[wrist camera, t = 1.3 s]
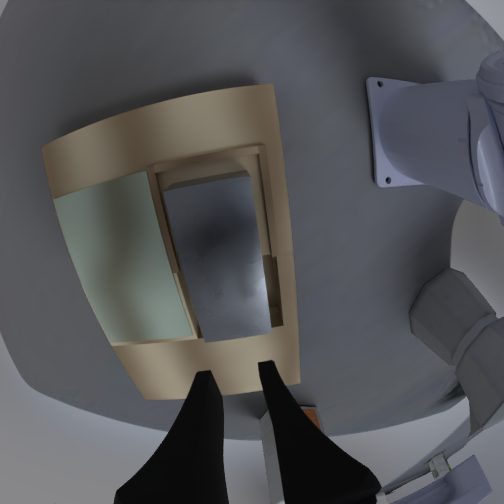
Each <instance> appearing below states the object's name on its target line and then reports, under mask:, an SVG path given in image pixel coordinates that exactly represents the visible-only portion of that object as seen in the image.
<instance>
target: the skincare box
mask: <svg viewBox="0 0 504 504" xmlns="http://www.w3.org/2000/svg"><path fill="white" fill-rule="evenodd" d="M300 407H301V409H302V410H303V411H304V413H305V414H306V415H307V416H308V417H309V418H310V420H311V421H312V422H313V423H314V424H315V425H316V426H317V427H318V428H319V429H320V430H321V431H322V432H323V433H324V434H325V432H324V428H323V425H322V422H321V418H320V415H319V412H318V408H317V407H304V406H300ZM260 429H261V437H262V444H263V451H264V458H265V466H266V473H267V480H268V488H269V495H270V503H271V504H285V503H284V496H283V489H282V482H281V476H280V469H279V463H278V456H277V450H276V444H275V437H274V431H273V425H272V422H271V419H270V415H269V412H268V411H267V412H266V413H265V414H264V415H263V417H262V418H261V419H260Z"/></svg>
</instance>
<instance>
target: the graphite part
mask: <svg viewBox="0 0 504 504" xmlns="http://www.w3.org/2000/svg"><path fill="white" fill-rule="evenodd" d="M163 194H164V198H165V203H166V207H167V211H168V216H169V220H170V224H171V228H172V232H173V236H174V240H175V244H176V248H177V252H178V255H179V259H180V263H181V266H182V270H183V273H184V277H185V280H186V284H187V287H188V291H189V294H190V297H191V301H192V304H193V307H194V310H195V314H196V317H197V320H198V323H199V326H200V329H201V332H202V335H203V338H204V341H205V343H209V342H217V341H224V340H231V339H238V338H245V337H251V336H257V335H263V334H269V333H272V329H271V321H270V313H269V306H268V298H267V291H266V283H265V276H264V269H263V261H262V254H261V247H260V239H259V232H258V225H257V218H256V211H255V204H254V197H253V190H252V183H251V176H250V174H249V173H248V171H247V170H243V171H237V172H230V173H224V174H219V175H213V176H207V177H202V178H197V179H192V180H187V181H182V182H177V183H172V184H171V185H170V186H169V187H168V188H167V189H165V190H164V191H163Z"/></svg>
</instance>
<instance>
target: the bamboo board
mask: <svg viewBox="0 0 504 504" xmlns="http://www.w3.org/2000/svg"><path fill="white" fill-rule="evenodd" d="M41 148H42V154H43V159H44V165H45V170H46V175H47V179H48V184H49V188H50V192H51V196H52V200H53V204H54V207H55V211H56V214H57V218H58V221H59V224H60V228H61V231H62V234H63V237H64V240H65V243H66V246H67V249H68V251H69V254H70V257H71V259H72V262H73V265H74V267H75V270H76V272H77V275H78V277H79V280H80V282H81V284H82V287H83V289H84V291H85V294H86V296H87V298H88V300H89V302H90V304H91V307H92V309H93V311H94V313H95V315H96V317H97V319H98V321H99V323H100V325H101V327H102V329H103V331H104V333H105V334H106V336H107V338H108V340H109V342H110V344H111V345H112V347H113V349H114V351H115V352H116V354H117V356H118V358H119V359H120V361H121V363H122V364H123V366H124V368H125V369H126V371H127V372H128V374H129V376H130V377H131V379H132V380H133V382H134V383H135V385H136V386H137V388H138V389H139V391H140V392H141V394H142V395H143V397H144V398H145V400H161V399H186V397H187V395H188V392H189V390H190V388H191V385H192V382H193V380H194V377H195V374H196V373H197V371H205V370H211V372H212V374H213V376H214V379H215V381H216V383H217V385H218V388H219V390H220V392H221V394H222V396H223V395H232V394H240V393H247V392H254V391H261V390H263V389H262V385H261V381H260V377H259V370H258V362H263V361H268V360H273V361H275V365H276V367H277V370H278V372H279V374H280V376H281V378H282V380H283V382H284V384H285V385H286V386H289V385H294V384H299V383H300V357H299V334H298V315H297V298H296V283H295V269H294V257H293V245H292V233H291V222H290V212H289V202H288V193H287V183H286V175H285V166H284V158H283V150H282V142H281V134H280V127H279V119H278V112H277V106H276V99H275V92H274V86H273V83H272V84H261V85H251V86H242V87H235V88H228V89H221V90H215V91H209V92H204V93H198V94H193V95H188V96H184V97H179V98H175V99H171V100H167V101H163V102H159V103H155V104H151V105H148V106H144V107H141V108H137V109H134V110H131V111H128V112H125V113H121V114H118V115H116V116H113V117H110V118H107V119H104V120H101V121H99V122H96V123H94V124H91V125H88V126H86V127H83V128H81V129H79V130H76V131H74V132H72V133H69V134H67V135H65V136H63V137H60V138H58V139H56V140H54V141H52V142H50V143H48V144H46V145H44V146H42V147H41ZM243 170H247V171H248V173H249V174H250V176H251V183H252V190H253V197H254V204H255V211H256V218H257V225H258V232H259V239H260V247H261V254H262V261H263V269H264V276H265V283H266V291H267V298H268V306H269V313H270V321H271V329H272V333H269V334H263V335H257V336H251V337H245V338H238V339H231V340H224V341H217V342H209V343H205V341H204V338H203V335H202V332H201V329H200V326H199V323H198V320H197V317H196V314H195V310H194V307H193V304H192V301H191V297H190V294H189V291H188V287H187V284H186V280H185V277H184V273H183V270H182V266H181V263H180V259H179V255H178V252H177V248H176V244H175V240H174V236H173V232H172V228H171V224H170V220H169V216H168V211H167V207H166V203H165V198H164V194H163V191H164V190H165V189H167V188H168V187H169V186H170V185H171V184H172V183H177V182H182V181H187V180H192V179H197V178H202V177H207V176H213V175H219V174H224V173H230V172H237V171H243Z"/></svg>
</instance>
